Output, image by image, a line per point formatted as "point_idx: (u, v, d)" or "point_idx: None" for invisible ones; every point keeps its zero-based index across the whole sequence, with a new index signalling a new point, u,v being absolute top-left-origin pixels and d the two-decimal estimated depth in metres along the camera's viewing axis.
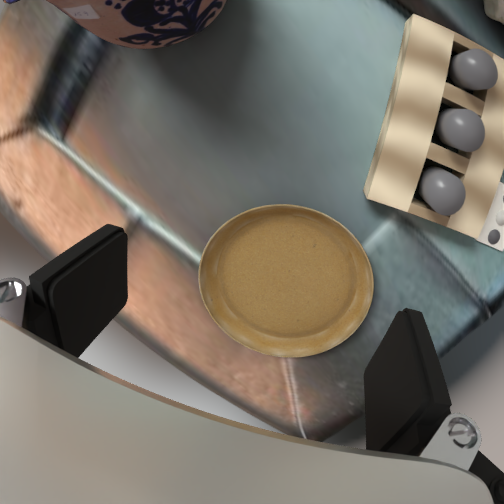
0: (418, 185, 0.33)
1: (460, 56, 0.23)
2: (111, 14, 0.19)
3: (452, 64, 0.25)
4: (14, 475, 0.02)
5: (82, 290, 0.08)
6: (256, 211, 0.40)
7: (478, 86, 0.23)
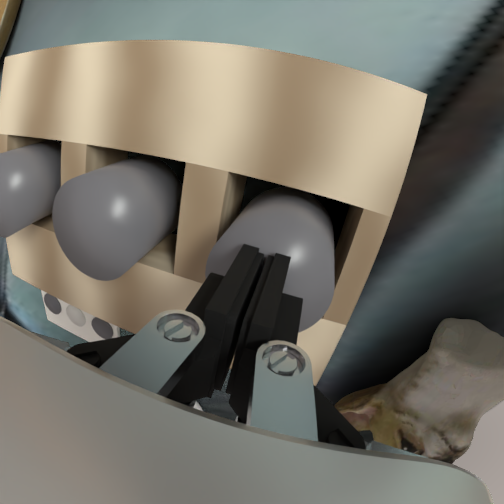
0: (38, 142, 0.15)
1: (304, 218, 0.11)
2: None
3: (288, 196, 0.13)
4: (14, 475, 0.02)
5: (242, 315, 0.09)
6: None
7: (208, 268, 0.11)
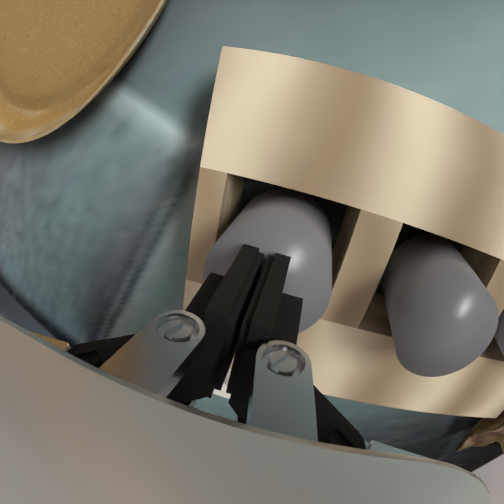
0: (277, 192, 0.14)
1: None
2: None
3: None
4: (14, 475, 0.02)
5: (242, 315, 0.09)
6: None
7: None
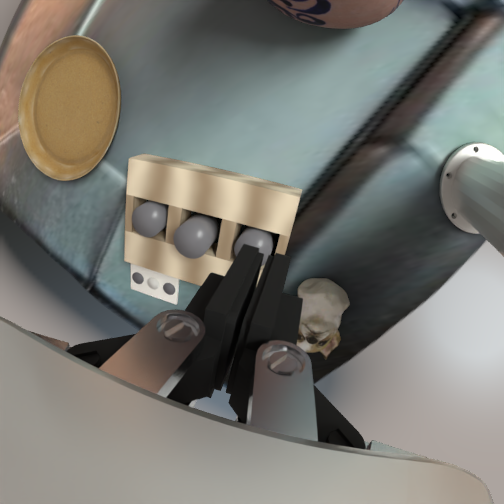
0: None
1: (262, 232, 0.40)
2: None
3: None
4: (14, 475, 0.02)
5: (242, 315, 0.09)
6: (114, 69, 0.36)
7: (235, 246, 0.40)
